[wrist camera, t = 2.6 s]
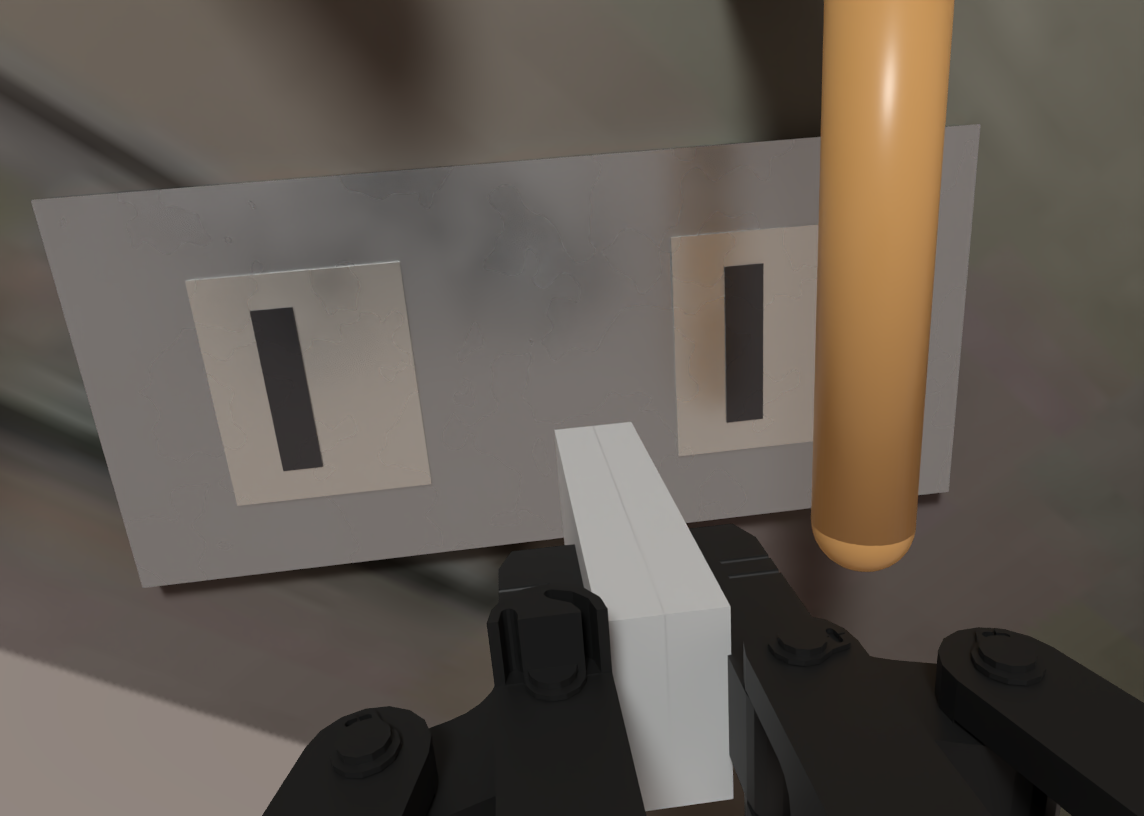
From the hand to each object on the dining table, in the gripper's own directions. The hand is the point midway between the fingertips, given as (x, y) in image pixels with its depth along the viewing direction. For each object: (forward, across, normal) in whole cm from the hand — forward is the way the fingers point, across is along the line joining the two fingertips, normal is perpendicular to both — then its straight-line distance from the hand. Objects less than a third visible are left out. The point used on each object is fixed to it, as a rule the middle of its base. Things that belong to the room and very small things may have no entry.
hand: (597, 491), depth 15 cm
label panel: (+10, 0, 0) cm, 10 cm away
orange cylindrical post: (+4, +7, +5) cm, 9 cm away
